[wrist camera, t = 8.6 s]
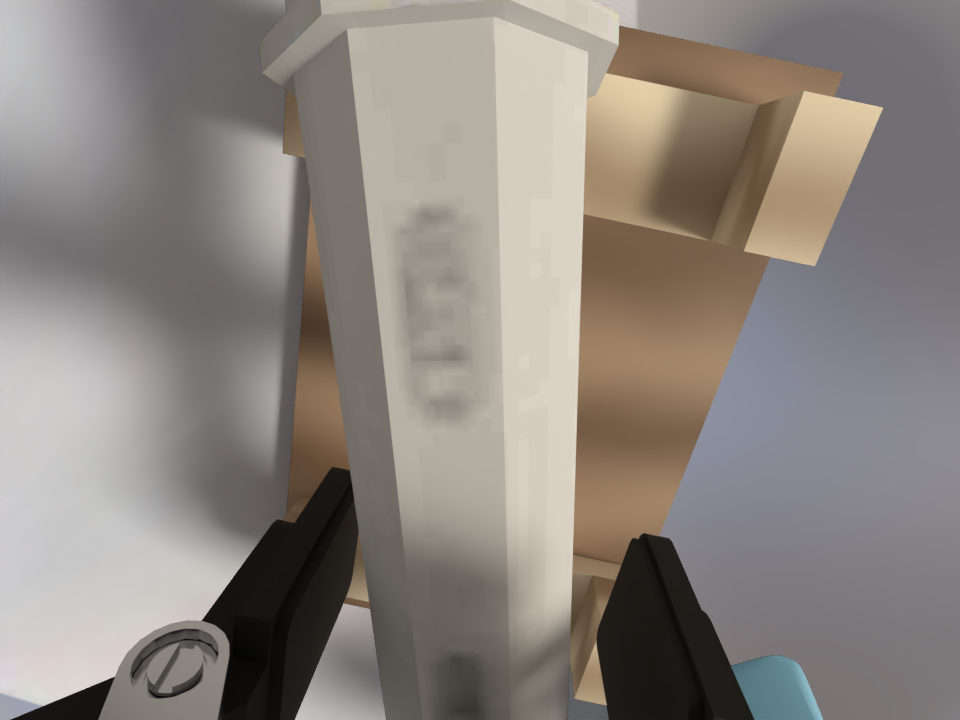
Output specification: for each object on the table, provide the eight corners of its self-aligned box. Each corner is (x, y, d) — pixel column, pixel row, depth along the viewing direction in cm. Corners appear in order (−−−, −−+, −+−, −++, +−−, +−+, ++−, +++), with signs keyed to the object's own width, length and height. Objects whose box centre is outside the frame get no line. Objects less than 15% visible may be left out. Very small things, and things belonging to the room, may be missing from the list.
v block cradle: (339, -23, 16) (275, -96, 12) (824, 79, 16) (933, 43, 12) (289, 574, 25) (242, 655, 20) (606, 641, 25) (624, 736, 20)
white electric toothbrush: (714, -551, 4) (645, 1370, 9) (592, -41, 10) (591, 892, 15) (84, -441, 4) (350, 1328, 9) (347, -18, 11) (421, 881, 16)
